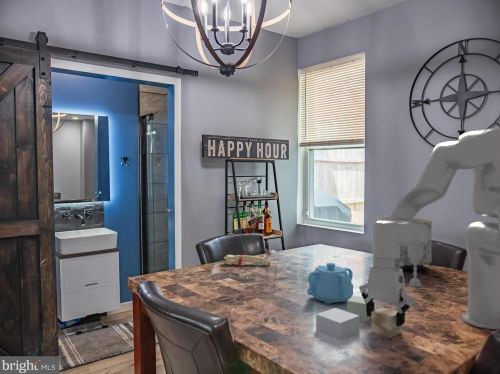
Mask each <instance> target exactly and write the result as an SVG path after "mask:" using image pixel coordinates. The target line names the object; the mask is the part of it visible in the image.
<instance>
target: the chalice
mask: <svg viewBox="0 0 500 374" xmlns="http://www.w3.org/2000/svg"><path fill="white" fill-rule="evenodd" d="M408 255H409V258H410V260H411V262H412V263H413V264H414V268H413V272H412V273H413V278H411V279H410V281H409V283H408V285H409V286H412V287H422V285H423V284H422V283H421V280H420V279H419V278H417V275H418V272H417V271H418V268H417V267H416V266H417V264H419V262H420V260H421V259H422V256H423V246H420V247H411V246H408Z"/></svg>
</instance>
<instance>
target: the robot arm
mask: <svg viewBox="0 0 500 374" xmlns="http://www.w3.org/2000/svg"><path fill="white" fill-rule="evenodd" d="M470 169H473V175H474V176H473V177H474V178H473V191H472V209H473V211H474V213H475V214H476V215H478V216H480V217H485V218H491V219H497V222H493V221H486V220H479V221H475V222H472V223H470V224H469V225H468V226H467V227H466V229H465V231H464V243H465V247H466V255H467V308H466V309H467V311H466V312H464V313H461V320H462V321H464V322H465V324H468V325H471V326H474V327H477V328H481V329H487V330H500V127H491V128H483V129H482V128H481V129H476V130H475V129H474V130H470V131H466V132H464V133H462V134H461V135H460V136H459V137H458V139H457V140H449V141H444V142H441V143H438V144H437V145H435V147H434V148H433V150H432V152H431V154H430V155H429V157H428V159H427V162H426V164H425V165H424V168H423V169H422V172H421V174H420V176H419V178H418V180H417V182H416V184H415V185H414V186H413V187H412V188H411V189H410V190H408V191H407V193H406V194H405V195H404V196H403V197H402V198H401V199H399V201H398V202H397V204H396V205H395V206H394V208H393V210H392V212H391V215H390V216H389V217H390V218H389V221H375V222H374V224H373V231H372V234H373V235H372V264H371V266H370V268H369V273H368V279H367V283H365V284H363V285H359V287H358V288H359V291H360V294H361V297H363V298H364V301H365V303H366V312H367V317H370V316H372V312H373V311H375V302H374V301H375V300H376V301H379V302H382V303H386V304H389V305H394V307H395V309H396V311H397V313H396V326H398V327H399V326H401V327H402V326H403V325H405V322H406V312H407V311H408V310H410V309H411V308H412V306H413V304H414V303H415V298H413V297H412V296H411V295H410V294H408V293H407V292H406V286H405V276H404V272H403V271H404V270H402V269H400V266H401V267H403V265H404V263H403V262H401V261H400V246H401V245H403V246H411V247H420V246H423V245H425V244H426V243H427V242H428V241H429V239H430V230H429V228H428V227H427V226H426V225H425V224H423V223H421V222H418V221H413V219H414V218H416V215H418V213H419V212H420V211H421V210H422V209H424V208H426V207H427V206H428V205H431V204H432V203H435V202H437V201H439V200H441V199H443V198H444V197H445V196H446V194H447V191H448V189H449V187H450V185H451V184H452V181H453V179H454V177H455V176H456V173H457V171H458V170H470ZM405 301H406V303H405V304H404V302H405Z"/></svg>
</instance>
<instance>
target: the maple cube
mask: <svg viewBox="0 0 500 374" xmlns="http://www.w3.org/2000/svg"><path fill="white" fill-rule="evenodd" d="M397 312H398V310H393V309H389V308H387V307H380V308H378V309H374V311H373V312H372V317H371V333H375V334H377V335H380V336H384V337H386V338H389V339H390V338H393V337H394V336H397V335H399V334H401V333H402V326H399V327H398V326H396V313H397ZM392 336H393V337H392Z"/></svg>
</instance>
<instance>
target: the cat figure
mask: <svg viewBox="0 0 500 374" xmlns="http://www.w3.org/2000/svg"><path fill="white" fill-rule="evenodd" d="M265 254H266V255H265V256H264V257H261V256H257V255H248V254H247V255H246V254H244V253H242V254H241V255H240V254H237V255H234V254H227V255H226V256H224V257H223V258H222V261H221V262H222V264H225V265H233V264H234V263H237V264H239V265H240V266H242V262H243V263H252V264H253V263H254V264H259V265H263V266H265V265H267V266H268V267H270V266H271V261H272V260H271V259H270V258H269V257H270V256H271V252H270V251H269V250H265ZM267 258H269V259H267Z"/></svg>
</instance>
